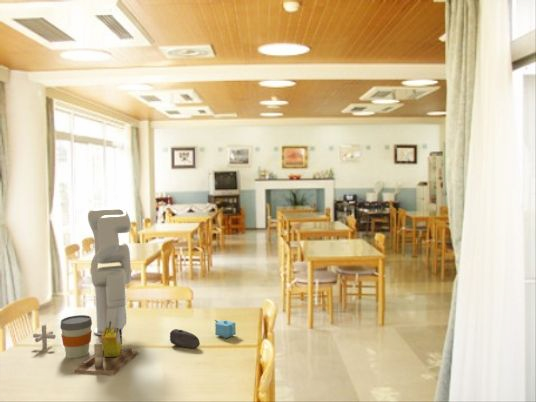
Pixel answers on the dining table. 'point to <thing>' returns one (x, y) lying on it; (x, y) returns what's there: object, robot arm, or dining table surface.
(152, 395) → the dining table surface
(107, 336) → the supplement box
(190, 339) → the perforated stone tool
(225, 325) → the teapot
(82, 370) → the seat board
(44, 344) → the pipe connector
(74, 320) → the reusable coffee cup
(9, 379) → the dining table surface
